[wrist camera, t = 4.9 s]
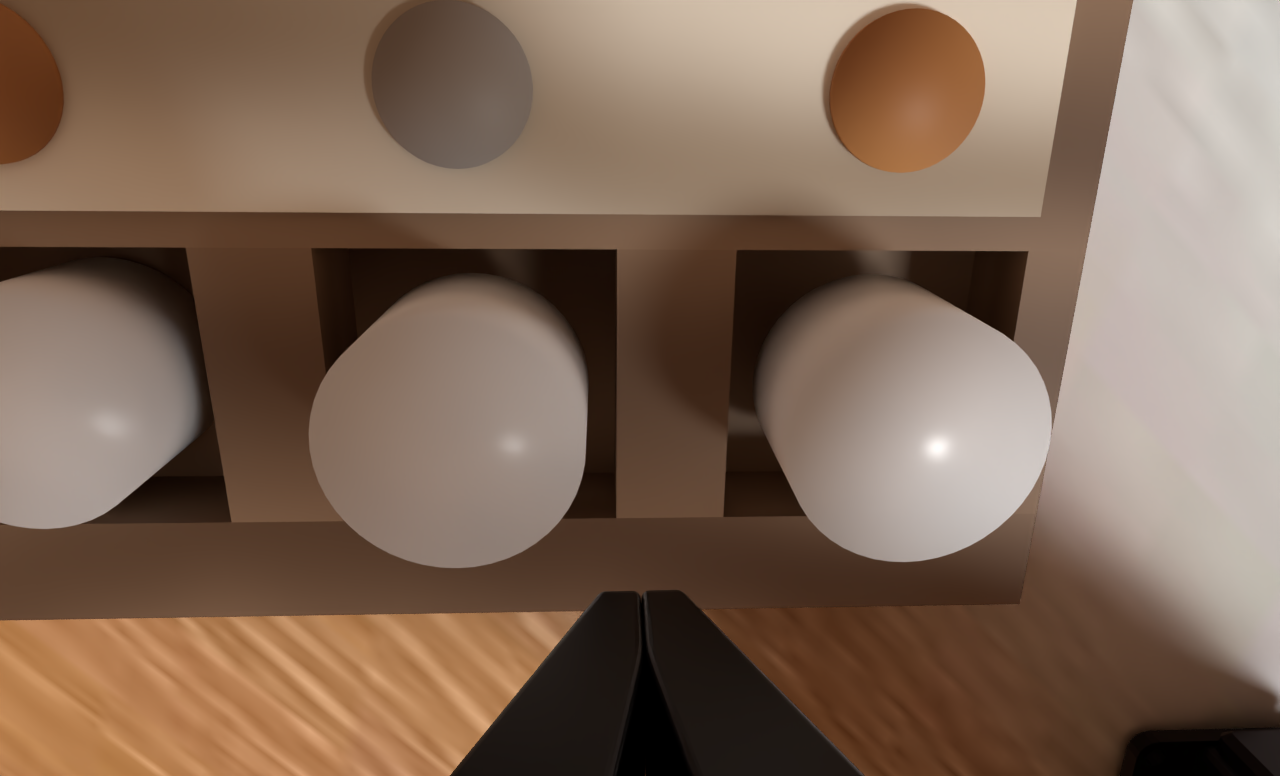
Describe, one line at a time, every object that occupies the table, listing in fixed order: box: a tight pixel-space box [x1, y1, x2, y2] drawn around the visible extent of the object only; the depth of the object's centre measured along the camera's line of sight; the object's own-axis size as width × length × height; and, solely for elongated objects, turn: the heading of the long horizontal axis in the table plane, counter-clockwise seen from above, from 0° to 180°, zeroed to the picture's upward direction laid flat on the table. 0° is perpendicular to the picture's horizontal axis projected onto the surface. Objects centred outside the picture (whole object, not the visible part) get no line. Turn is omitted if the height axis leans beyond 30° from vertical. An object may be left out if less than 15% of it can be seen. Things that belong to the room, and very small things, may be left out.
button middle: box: [309, 273, 589, 568], centre depth 13 cm, size 4×4×3 cm
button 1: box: [753, 274, 1052, 562], centre depth 14 cm, size 4×4×3 cm
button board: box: [0, 0, 1133, 620], centre depth 15 cm, size 12×21×3 cm, turn 89°
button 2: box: [0, 257, 214, 529], centre depth 14 cm, size 4×4×3 cm
